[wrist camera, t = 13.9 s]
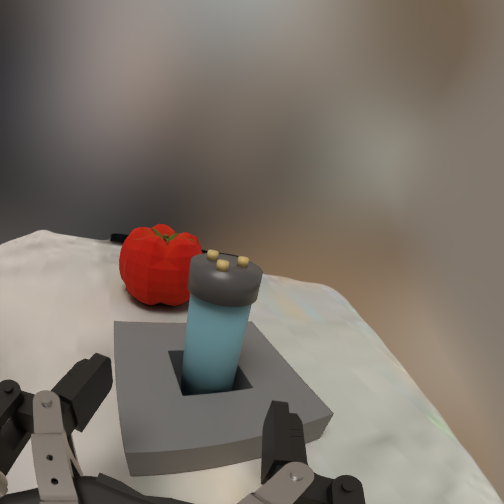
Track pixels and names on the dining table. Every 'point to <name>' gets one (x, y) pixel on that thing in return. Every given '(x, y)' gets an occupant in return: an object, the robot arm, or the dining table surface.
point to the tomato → (158, 264)
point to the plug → (216, 320)
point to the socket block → (200, 402)
